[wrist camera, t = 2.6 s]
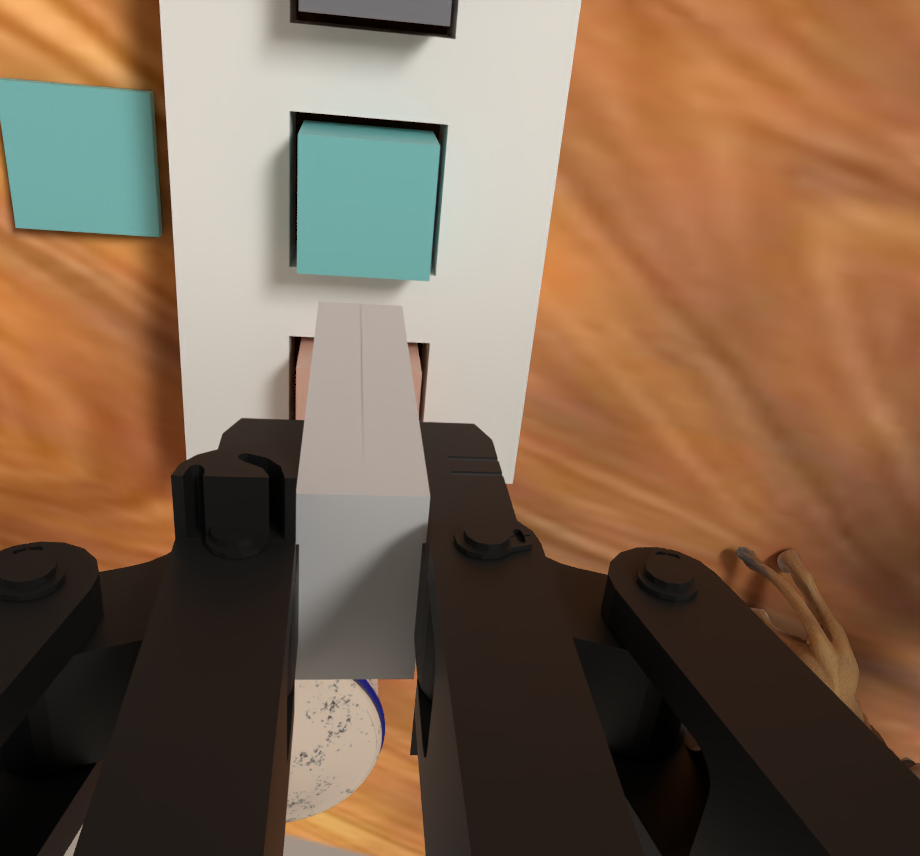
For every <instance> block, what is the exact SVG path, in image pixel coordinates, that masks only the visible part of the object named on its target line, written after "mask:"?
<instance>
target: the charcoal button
mask: <svg viewBox="0 0 920 856" xmlns="http://www.w3.org/2000/svg"><path fill="white" fill-rule="evenodd" d="M451 6H452V0H299V11H303V12H312V13H322V14H332V15H342V16H352V17H362V18H372V19H381V20H391V21H401V22H411V23H421V24H431V25H440V26H450V18H451Z"/></svg>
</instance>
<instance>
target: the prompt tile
mask: <svg viewBox="0 0 920 856" xmlns="http://www.w3.org/2000/svg"><path fill="white" fill-rule="evenodd" d="M0 121H1V128H2V135H3V142H4V149H5V156H6V163H7V170H8V177H9V184H10V191H11V198H12V205H13V212H14V219H15V226H16V228H25V229H41V230H56V231H71V232H87V233H102V234H118V235H133V236H148V237H160V236H161V235H162V233H163V230H162V215H161V199H160V184H159V169H158V153H157V138H156V122H155V107H154V92H153V91H147V90H136V89H124V88H113V87H101V86H90V85H78V84H67V83H55V82H44V81H33V80H21V79H10V78H0Z"/></svg>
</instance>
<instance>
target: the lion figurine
mask: <svg viewBox="0 0 920 856" xmlns="http://www.w3.org/2000/svg"><path fill="white" fill-rule="evenodd" d="M736 553H737V555H738V556H739V558H740V559H742V560H743V562H744V563H745V564H746V565H747V566H748V567H749V568H750V569H751V570H754V571H756V572H758V573H760V574H761V575H763V576H764V577H766V578H767V579H768V580H770V581H771V582H772V583H773V584H774V585H775V586H776V587H777V588H778V589H779V590H780V591H781V593H782V594H783V595H784V596H785V598H786V599H787V600H788V601H789V603H790V604H791V606H792V607H793V609H794V610H795V611H796V613H797V614H798V616H799V618H800V619H801V621H802V623H803V625H804V627H805V629H806V631H807V633H808V635H809V637H808V638H807V641H804V640H802V639H801V638H799V637H796V636H793V635H790V634H787V633H785V632H783V631H781V630H780V629H779V628H777V627H775V626H774V625H773V624H772V623H771V621H770V618H769V616H768V614H767V613H766V612H765V611H764V610H763V609H756V608H751V607H749V608H750V609H751V610H752V611H753V612H754V613H755V614H756V615H757V616H758V617H759V618H760V619H761V620H762V621H763V622H764V623H765V624H766V625H767V626H768V627H769V628H770V629H771V630H772V631H773V632H774V633H775V634H776V635H777V636H778V637H779V638H780V639H781V640H782V641H783V642H784V643H785V644H786V645H787V646H788V647H789V648H790V649H791V650H792V651H793V652H794V653H795V654H796V655H797V656H798V657H799V658H800V659H801V660H802V661H803V662H804V663H805V664H806V665H807V666H808V667H809V668H810V669H811V670H812V671H813V672H814V673H815V674H816V675H817V676H818V677H819V678H820V679H821V680H822V681H823V682H824V683H825V684H826V685H827V686H828V687H829V688H830V689H831V690H832V691H833V692H834V693H835V694H836V695H837V696H838V697H839V698H840V699H841V700H842V701H843V702H844V703H845V704H846V705H847V706H848V707H849V708H850V709H851V710H852V711H853V712H854V713H855V714H856V715H857V716H858V717H859V718H860V719H861V720H862V721H863V722H864V723H865V725H866V726H867V727H868V728H869V729H870V730H871V731H872V732H873V733H874V734H875V735H876V736H877V737H878V738H879V739H880V740H881V741H882V742H883V743H884V744H885V745H886V743H885V742H884V740H883V738H882V737H881V736H880V734H879V733H878V732H877V731H876V730H875V729H874V727H873V726H872V725H870V724H869V722H868V719H867V717H866V715H865V714H864V713H863V712H862V709H861V707H860V704H859V702H858V699H857V698H856V696H855V692H856V690H857V685H858V680H859V668H858V665H857V662H856V659H855V657H854V654H853V652H852V649H851V647H850V644H849V641H848V638H847V635H846V633H845V631H844V629H843V628H842V626H841V625H840V624H839V622H838V621H837V620H836V619H835V617H834V616H833V614H832V612H831V611H830V609H829V608H828V606H827V604H826V603H825V601H824V600H823V598H822V596H821V595H820V593H819V591H818V589H817V587H816V585H815V583H814V579H813V576H812V574H811V573H810V571H809V570H808V569H807V568H806V567H805V566H804V565H803V564H802V563H801V558H800V556H799V555H798V553H797V552H796V551H795V550H793V549H788V550H786V551H784V552H782V553H781V554H779V556H778V558H777V564H778V566H779V568H780V569H781V570H782V571H783V572H787V573H790V574H791V576H792V578H793V580H794V582H795V583H796V585H797V586H798V588H799V589H800V591H801V592H802V594H803V596H804V598H805V599H806V602H807V604H808V606H807V605H806V604H805V602H804V601H803V600H802V598H801V597H800V596H799V594H798V593H797V592H796V590H795V589H794V588H793V587H792V586H791V585H790V584H789V583H788V582H787V581H786V580H785V579H784V578H783V577H781V576H780V575H779V574H778V573H776V572H775V571H774V570H773V569H771V568H770V567H768V566H767V565H765V564H764V563H763V562H761V561H760V560H759V559H758V558H757V557H756V555H755V554H754V552H753V551H750V550H748V549H747V548H745V547H739V548H738V549H737V550H736ZM886 746H887V745H886ZM891 751H892V750H891ZM892 752H893V751H892ZM893 753H894V752H893ZM894 754H895V753H894ZM901 761H902V762H903V763H904V764H905V765H906V766H907V767H908V768H909V769H910V770H911V771H912V772H913V773H914V774H915V775H916V776H917V777H918V778H919V779H920V763H917V764H916V763H914V762H913V761H912V760H911V759H910V758H903V759H901Z"/></svg>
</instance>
